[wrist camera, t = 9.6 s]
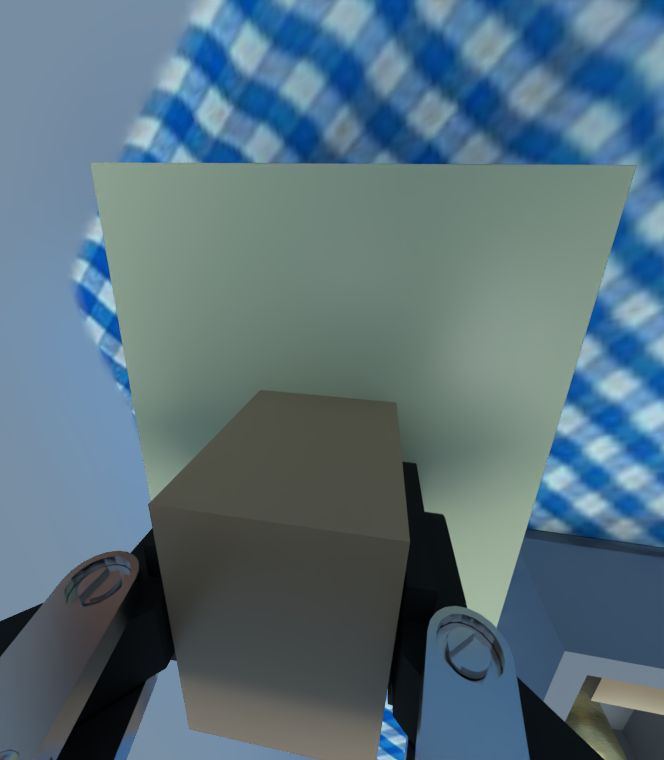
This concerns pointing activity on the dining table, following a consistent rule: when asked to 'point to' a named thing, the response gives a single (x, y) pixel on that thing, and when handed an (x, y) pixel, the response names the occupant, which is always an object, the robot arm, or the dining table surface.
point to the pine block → (625, 694)
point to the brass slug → (594, 727)
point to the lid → (340, 405)
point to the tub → (589, 626)
